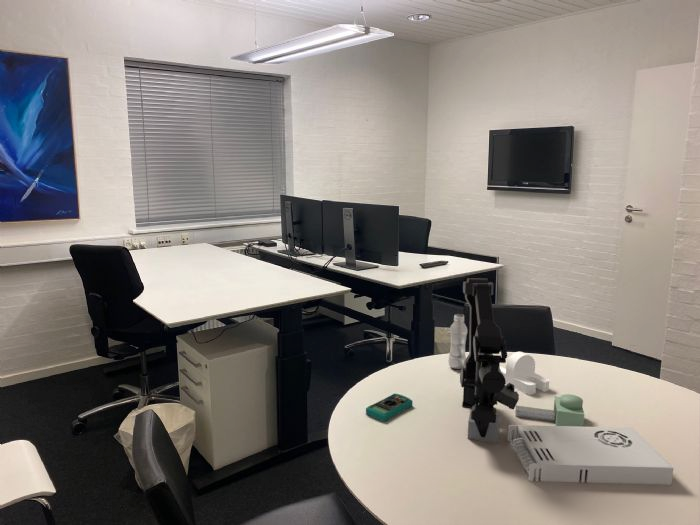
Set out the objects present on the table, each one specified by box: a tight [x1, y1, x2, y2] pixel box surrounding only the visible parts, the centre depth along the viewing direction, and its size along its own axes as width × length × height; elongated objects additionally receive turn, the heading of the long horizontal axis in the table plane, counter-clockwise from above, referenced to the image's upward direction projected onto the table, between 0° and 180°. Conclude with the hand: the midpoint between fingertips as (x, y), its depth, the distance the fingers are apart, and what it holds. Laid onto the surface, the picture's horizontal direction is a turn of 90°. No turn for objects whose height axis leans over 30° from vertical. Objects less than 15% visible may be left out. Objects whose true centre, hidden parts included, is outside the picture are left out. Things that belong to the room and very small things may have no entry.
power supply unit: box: [507, 424, 675, 486], centre depth 129 cm, size 19×33×5 cm, turn 88°
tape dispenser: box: [500, 351, 550, 396], centre depth 176 cm, size 10×18×11 cm, turn 25°
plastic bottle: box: [448, 313, 468, 370], centre depth 188 cm, size 6×7×20 cm
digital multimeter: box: [365, 393, 413, 422], centre depth 156 cm, size 7×15×3 cm, turn 138°
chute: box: [467, 410, 501, 444], centre depth 141 cm, size 8×6×5 cm
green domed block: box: [515, 393, 585, 427], centre depth 150 cm, size 18×10×7 cm, turn 73°
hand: (483, 431), depth 141 cm, fingers closed on chute, 6 cm apart
